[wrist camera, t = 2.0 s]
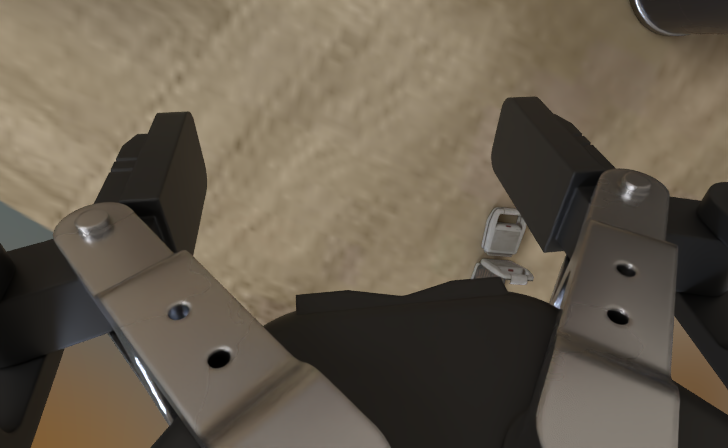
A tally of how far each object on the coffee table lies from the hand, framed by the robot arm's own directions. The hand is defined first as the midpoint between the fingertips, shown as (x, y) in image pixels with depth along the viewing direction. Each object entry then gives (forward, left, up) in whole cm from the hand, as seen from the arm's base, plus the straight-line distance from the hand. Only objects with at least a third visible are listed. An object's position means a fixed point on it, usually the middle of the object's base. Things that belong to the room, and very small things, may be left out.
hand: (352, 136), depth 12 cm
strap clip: (-14, +16, -19) cm, 28 cm away
